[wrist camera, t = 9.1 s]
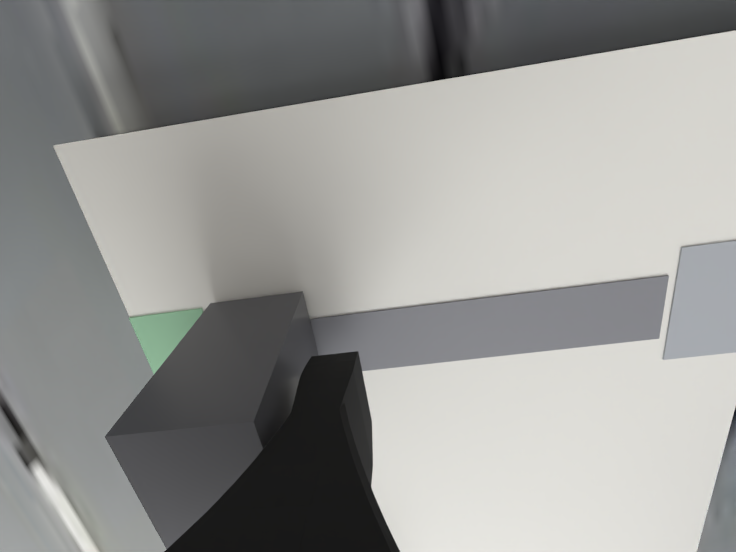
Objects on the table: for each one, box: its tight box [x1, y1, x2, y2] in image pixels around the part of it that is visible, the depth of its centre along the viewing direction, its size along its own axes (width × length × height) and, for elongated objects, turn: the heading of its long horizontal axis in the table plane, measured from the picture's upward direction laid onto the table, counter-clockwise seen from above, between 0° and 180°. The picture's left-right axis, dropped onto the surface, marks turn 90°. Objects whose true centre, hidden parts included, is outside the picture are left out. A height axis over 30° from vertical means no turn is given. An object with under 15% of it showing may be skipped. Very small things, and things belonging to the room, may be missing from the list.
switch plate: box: [53, 30, 736, 552], centre depth 14 cm, size 16×24×2 cm, turn 9°
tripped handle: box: [105, 291, 319, 549], centre depth 9 cm, size 2×4×4 cm, turn 9°
